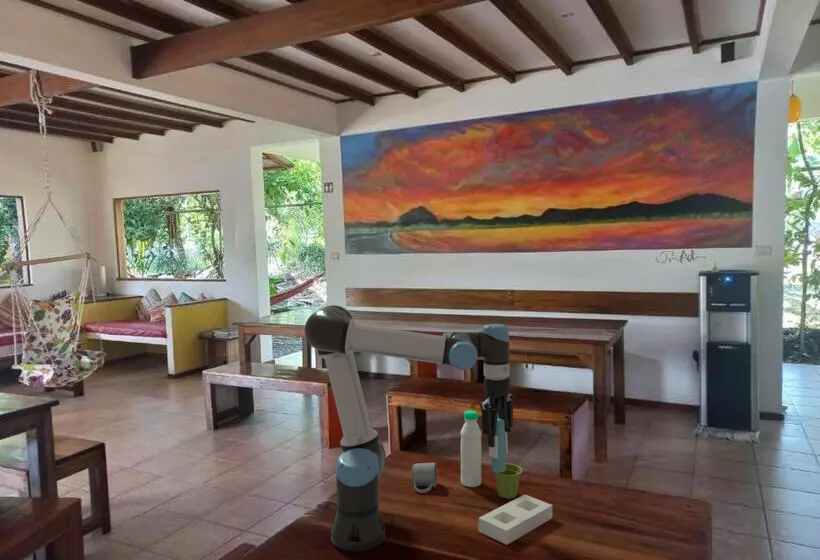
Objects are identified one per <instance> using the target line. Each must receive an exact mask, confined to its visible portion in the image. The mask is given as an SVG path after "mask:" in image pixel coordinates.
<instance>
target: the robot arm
mask: <svg viewBox="0 0 820 560" xmlns="http://www.w3.org/2000/svg"><path fill="white" fill-rule="evenodd" d="M509 331H510V330H509V327H508V326H507V325H506V324H501V323H490V324H489V323H488V324H485V325H483V327H482V330H481V331H473V332H472V331H467V332H465V331H463V332H461V331H460V332H459V331H452V332H445V333H443V334H442V335H435V334H429V333H422V332H421V333H420V332H415V331H408V330H401V329H395V328H389V327H381V326H374V325H367V324H362V323H361V324H360V323H356V322H355V320H354V318H353V315H352V314H351V313H350V311H349V310H348V309H347V308H345V307H343V306H341V305H336V304H332V305H326V306H323V307H322V308H320V309H319V310H317V311H314V313H311V314H310V316H309V317H308V318H307V320H306V322H305V325H304V336H305V338H306V341H307V342H308V344H309V345H310V346H311V347H312V348H314V349H316V350H317V355H318V356H319V357H320V358H322V359H323V360H324V361H325V365H326V366H325V367H326V369H327V373H328V377H329V382H330V385H331V389H332V394H333V398H334V401H335V406H336V410H337V415H338V418H339V422H340V426H341V429H342V430H341V431H342V435H343V436H342V438H341V440H340V442H339V444H340V447H341V452H342V453H341V454H340V455H339V456H338V458H337V461H336V466H335V475H336V478H335V480H336V514H335V519H334V521H333V525H332V527H331V530H330V538H331V539H330V541H331V543H332V544H333V546H334V547H336V548H338V549H340V550H342V551H347V552H364V551H368V550H372V549H375V548H377V547H379V546H380V545H381V544H382V543H383V542H384V541H385V540H386V527H385V524H384V521H383V518H382V514H381V511H380V508H379V507H380V505H379V502H380V501H379V500H380V499H379V498H380V497H379V493H380V492H379V491H380V490H379V483H380V480H381V476H382V473H383V470H384V467H385V465H386V461H387V460H386V459H387V455H386V450H385V447H384V444H383V443H382V442H381V441H380V437H379V433H378V431H377V430H375V429H374V428H372V426H371V422H370V418H369V413H368V410H367V406H366V401H365V396H364V392H363V388H362V385H361V381H360V375H359V372H358V368H357V363H356V359H355V355H354V352H356V353H364V354H370V355H377V356H385V357H392V358H397V359H398V358H399V359H403V360H404V359H406V360H413V361H419V362H426V363H431V364H439V365H445V366H452V367H453V368H454V369H456V370H458V371H468V370H470V369H471V368H473V367H474V366H475V364H476V362H477V359H478V358H481V359H482V358H483V377H484V379H483V386H484V387H483V388H484V389H483V390H484V391H485V392H486V397H485V400H484V401H481V402H479V407H480V410H481V426H482V427H481V428H482V429H481V432H482V434H483V435H485V436H487V446H488V455H489V457H490V458H492V457H493V458H498V436H496V426H497V418H501V419H504V422H505V455H508V453H509V452H508V448H509V447H508V444H509V443H508V441H509V433H510V432H511V431H512V428H514V427H513V426H514V399H515V395H514V394H510V393H509V391H510V390H511V378H510V374H511V373H510V335H509V333H510V332H509Z"/></svg>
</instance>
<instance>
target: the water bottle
mask: <svg viewBox="0 0 820 560" xmlns="http://www.w3.org/2000/svg"><path fill="white" fill-rule="evenodd" d="M463 419H464V423H463V426H462V428H461V430H460V436H461V438H460V484H461V485H463V486H464V487H466V486H467V487H468V488H476V487H479V486H480V485H481V484H482V464H481V463H482V429H480V426H479V424H478V419H479V413H478V412H477V411H476V410H472V409H471V410H465V411H464V412H463Z"/></svg>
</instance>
